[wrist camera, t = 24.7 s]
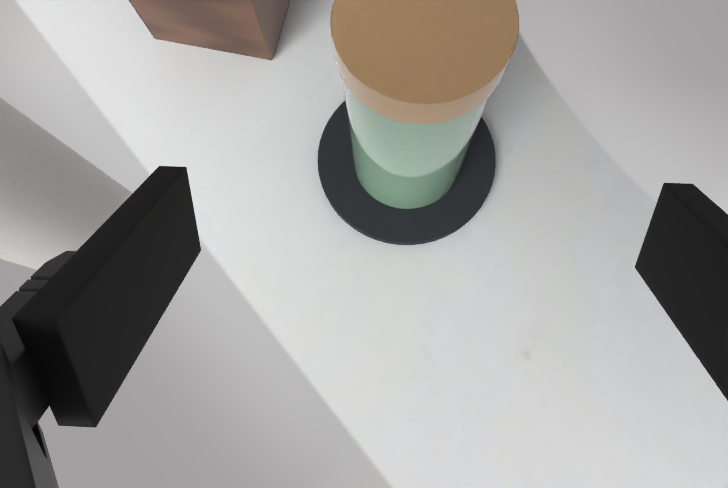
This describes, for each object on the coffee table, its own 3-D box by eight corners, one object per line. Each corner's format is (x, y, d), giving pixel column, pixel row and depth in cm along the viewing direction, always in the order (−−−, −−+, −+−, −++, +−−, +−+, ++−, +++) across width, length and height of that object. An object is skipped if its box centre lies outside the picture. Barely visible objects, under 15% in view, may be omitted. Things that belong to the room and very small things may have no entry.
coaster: (299, 224, 29) (298, 222, 29) (340, 68, 31) (340, 63, 31) (477, 262, 28) (479, 260, 28) (506, 98, 31) (508, 94, 30)
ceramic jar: (338, 199, 29) (310, 84, 17) (363, 97, 30) (353, -73, 19) (452, 223, 28) (503, 120, 17) (472, 117, 30) (532, -45, 18)
